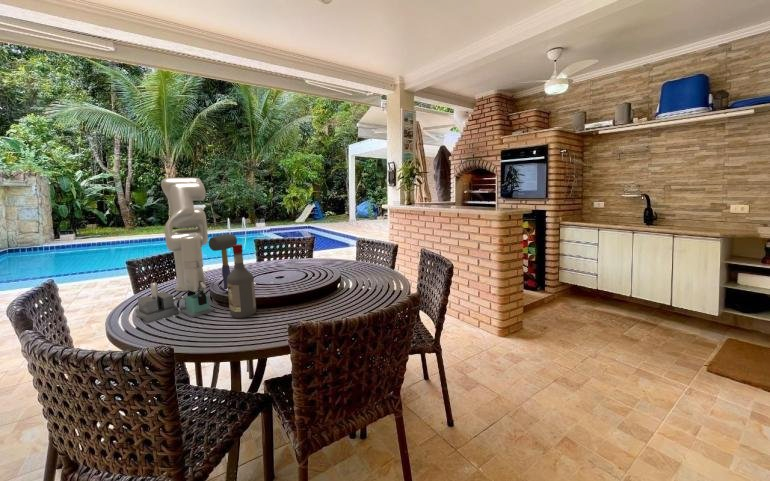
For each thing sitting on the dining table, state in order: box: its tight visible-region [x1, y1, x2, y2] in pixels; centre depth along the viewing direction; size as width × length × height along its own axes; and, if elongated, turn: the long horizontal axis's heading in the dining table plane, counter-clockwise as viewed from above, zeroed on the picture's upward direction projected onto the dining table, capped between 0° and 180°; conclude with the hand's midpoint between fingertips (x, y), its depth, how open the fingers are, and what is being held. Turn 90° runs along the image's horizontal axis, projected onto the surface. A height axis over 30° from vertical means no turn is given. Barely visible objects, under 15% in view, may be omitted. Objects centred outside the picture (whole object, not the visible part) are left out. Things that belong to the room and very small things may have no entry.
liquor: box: [227, 244, 257, 319], centre depth 149 cm, size 9×9×30 cm
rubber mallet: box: [208, 233, 238, 290], centre depth 179 cm, size 12×8×30 cm, turn 156°
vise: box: [135, 282, 186, 323], centre depth 153 cm, size 17×12×14 cm
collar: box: [184, 293, 211, 314], centre depth 154 cm, size 7×7×6 cm
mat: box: [180, 306, 216, 319], centre depth 155 cm, size 10×10×1 cm
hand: (197, 302), depth 154 cm, fingers open, 9 cm apart
